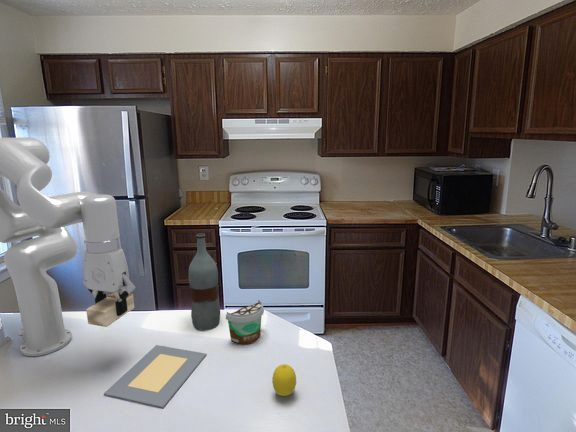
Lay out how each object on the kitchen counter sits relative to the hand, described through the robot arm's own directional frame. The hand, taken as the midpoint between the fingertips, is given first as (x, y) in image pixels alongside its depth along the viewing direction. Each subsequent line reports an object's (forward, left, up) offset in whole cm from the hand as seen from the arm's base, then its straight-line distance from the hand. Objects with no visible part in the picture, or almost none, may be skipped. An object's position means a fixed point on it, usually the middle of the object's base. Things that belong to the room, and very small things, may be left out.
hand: (112, 311), depth 90 cm
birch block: (0, 0, -1) cm, 1 cm away
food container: (+30, +19, -15) cm, 39 cm away
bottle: (+13, +24, -15) cm, 31 cm away
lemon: (+46, 0, -15) cm, 49 cm away
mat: (+13, -1, -15) cm, 20 cm away
